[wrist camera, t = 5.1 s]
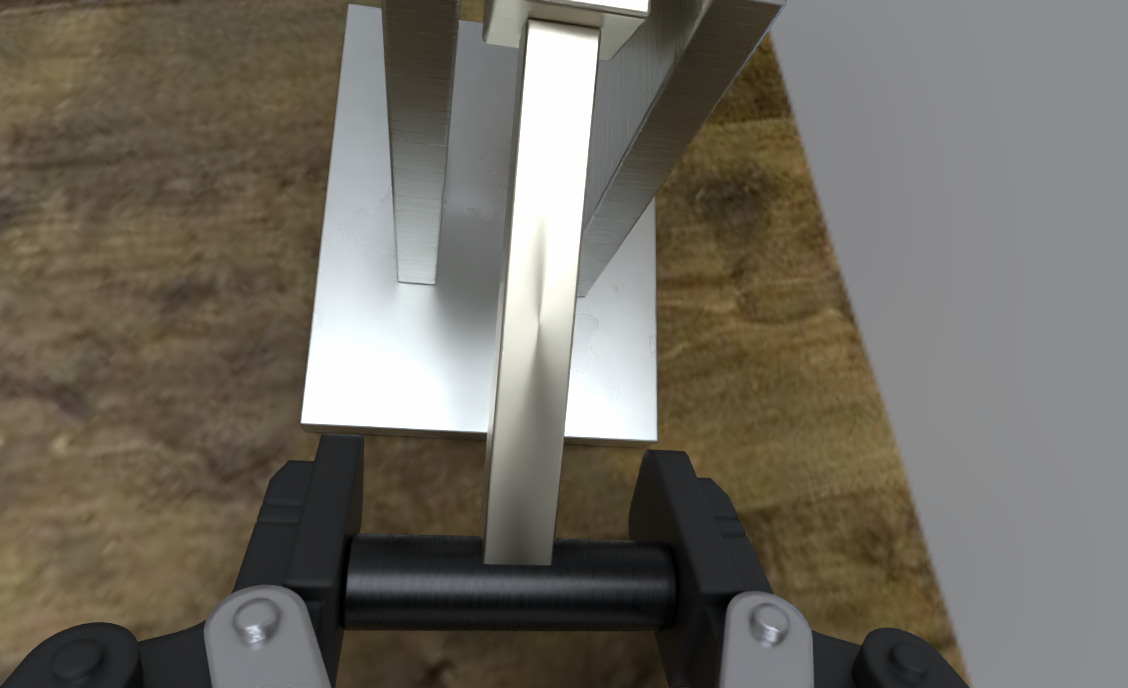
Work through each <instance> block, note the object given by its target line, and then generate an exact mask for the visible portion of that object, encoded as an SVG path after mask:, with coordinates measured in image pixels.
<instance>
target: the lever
mask: <svg viewBox="0 0 1128 688" xmlns="http://www.w3.org/2000/svg"><path fill="white" fill-rule="evenodd" d="M652 2H653V0H485V3H484V16H483V29H482V38H483V41H484V42H485V43H487V44H493V45H500V46H507V47H514V48H519V51H518V63H517V75H516V88H515V100H514V112H513V125H512V137H511V149H510V161H509V174H508V186H507V198H506V211H505V223H504V235H503V247H502V260H501V272H500V284H499V296H498V309H497V321H496V333H495V346H494V358H493V370H492V382H491V395H490V407H489V419H488V431H487V444H486V456H485V468H484V481H483V493H482V505H481V517H480V530H479V536H448V535H409V534H370V533H355V534H352V535H351V536H350V538H349V540H348V543H347V547H346V552H345V559H344V566H343V574H342V584H341V597H340V624H341V627H342V629H344V630H382V631H666V630H668V629H670V628H671V626H672V625H673V623H674V620H675V617H676V613H677V607H678V598H679V581H678V572H677V566H676V562H675V558H674V554H673V552H672V550H671V548H670V546H669V545H668V544H667V543H665V542H663V541H643V540H604V539H565V538H555V532H556V521H557V510H558V499H559V488H560V477H561V467H562V456H563V445H564V434H565V423H566V412H567V401H568V390H569V379H570V369H571V358H572V347H573V336H574V325H575V314H576V303H577V292H578V281H579V271H580V260H581V249H582V238H583V227H584V216H585V205H586V194H587V183H588V172H589V162H590V151H591V140H592V129H593V118H594V107H595V96H596V85H597V74H598V64H599V60H605V61H609V60H612V59H613V58H614V57H615V56H616V55H617V53H618V52H619V51H620V50H621V49H622V48H623V47H624V46H625V45H626V43H627V42H628V41H629V40H630V39H631V38H632V37H633V36H634V35H635V34H636V32H637V31H638V30H639V29H640V28H641V27H642V26H643V25H644V24H645V22H646V21H647V20H648V19H649V17H650V16H651V12H652Z"/></svg>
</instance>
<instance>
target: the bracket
mask: <svg viewBox="0 0 1128 688" xmlns="http://www.w3.org/2000/svg"><path fill="white" fill-rule="evenodd" d="M786 3H787V0H653V2H652V12H651V16H650V17H649V19H648V20H647V21H646V22H645V24H644V25H643V26H642V27H641V28H640V29H639V30H638V31H637V32H636V34H635V35H634V36H633V37H632V38H631V39H630V40H629V41H628V42H627V43H626V45H625V46H624V47H623V48H622V49H621V50H620V51H619V52H618V53H617V55H616V56H615V57H614V58H613V59H612V60H609V61H605V60H599V64H598V74H597V85H596V96H595V107H594V118H593V129H592V140H591V151H590V162H589V172H588V183H587V194H586V205H585V216H584V227H583V238H582V249H581V260H580V271H579V281H578V292H577V303H576V314H575V325H574V336H573V347H572V358H571V369H570V379H569V390H568V401H567V412H566V423H565V434H564V444H573V445H593V446H614V447H635V448H645V447H647V446H650V445H652V444H654V443H657V442H658V385H657V299H656V213H655V195H656V193H657V192H658V190H659V189H660V188H661V186H662V185H663V183H664V182H665V180H666V179H667V177H668V176H669V174H670V173H671V171H672V170H673V169H674V167H675V166H676V164H677V163H678V161H679V160H680V158H681V157H682V155H683V154H684V153H685V151H686V150H687V148H688V147H689V145H690V144H691V142H692V141H693V139H694V138H695V137H696V135H697V134H698V132H699V131H700V129H701V128H702V126H703V125H704V123H705V122H706V121H707V119H708V118H709V116H710V115H711V113H712V112H713V110H714V109H715V107H716V106H717V105H718V103H719V102H720V100H721V99H722V97H723V96H724V94H725V93H726V91H727V90H728V89H729V87H730V86H731V84H732V83H733V81H734V80H735V78H736V77H737V75H738V74H739V73H740V71H741V70H742V68H743V67H744V65H745V64H746V62H747V61H748V59H749V58H750V57H751V55H752V54H753V52H754V51H755V49H756V48H757V46H758V45H759V43H760V42H761V41H762V39H763V38H764V36H765V35H766V33H767V32H768V30H769V29H770V27H771V26H772V25H773V23H774V22H775V20H776V19H777V17H778V16H779V14H780V12H781V11H782V10H783V9H784V7H785V6H786ZM460 10H461V0H381V8H377V7H370V6H364V5H357V4H348V7H347V15H346V24H345V32H344V41H343V50H342V58H341V67H340V76H339V84H338V93H337V101H336V110H335V119H334V127H333V136H332V144H331V153H330V162H329V170H328V179H327V188H326V196H325V205H324V213H323V222H322V231H321V239H320V248H319V257H318V265H317V274H316V282H315V291H314V300H313V308H312V317H311V326H310V334H309V343H308V351H307V360H306V369H305V377H304V386H303V394H302V403H301V412H300V420H299V423H300V425H301V426H302V427H303V428H304V429H305V430H306V431H307V432H325V433H345V434H366V435H387V436H407V437H428V438H449V439H469V440H487V431H488V419H489V407H490V395H491V382H492V370H493V358H494V346H495V333H496V321H497V309H498V296H499V284H500V272H501V260H502V247H503V235H504V223H505V211H506V198H507V186H508V174H509V161H510V149H511V137H512V125H513V112H514V100H515V88H516V75H517V63H518V51H519V48H514V47H507V46H500V45H493V44H487V43H485V42H484V41H483V38H482V29H483V23H479V22H473V21H466V20H460Z"/></svg>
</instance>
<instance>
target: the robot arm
mask: <svg viewBox="0 0 1128 688" xmlns="http://www.w3.org/2000/svg"><path fill="white" fill-rule="evenodd" d="M363 468H364V436H363V435H344V434H322V436H321V439H320V442H319V446H318V450H317V454H316V457H315V461H294V460H289V461H288V462H287V463H286V464H285V465H284V466H283V467H282V468H281V469H280V470H279V471H278V472H277V473H276V474H275V475H274V476H273V477H272V478H271V479H270V482H269V485H268V488H267V491H266V494H265V497H264V500H263V505H261V508H260V511H259V514H258V517H257V523H255V526H254V529H253V532H252V535H251V538H250V541H249V544H248V547H247V550H246V553H245V556H244V559H243V562H242V565H241V568H240V571H239V574H238V577H237V580H236V583H235V586H234V589H233V591H232V593H231V595H229V596H227V597H226V598H224V599H223V600H222V601H221V602H219V603H218V604H217V605H216V606H215V607H214V608H213V610H212V611H211V613H210V614H209V616H208V618H207V619H206V620H205V621H203V622H201V623H199V624H197V625H195V626H193V627H190V628H188V629H186V630H182V631H179V632H176V633H172V634H168V635H164V636H160V637H156V638H152V639H148V640H144V641H140V642H137V640H136V638H135V636H134V635H133V634H132V633H131V632H130V631H129V630H127V629H126V628H124V627H122V626H120V625H116V624H112V623H104V622H98V623H87V624H81V625H78V626H74V627H71V628H68V629H66V630H63V631H61V632H59V633H57V634H55V635H53V636H51V637H49V638H48V639H46V640H45V641H43V642H42V643H40V644H39V645H38V646H37V647H35V648H34V649H33V650H32V651H31V652H30V653H29V654H28V655H27V656H26V657H25V659H24V660H23V661H22V662H21V663H20V664H19V666H18V667H17V668H16V669H15V670H14V671H13V673H12V674H11V675H10V676H9V677H8V678H7V680H6V681H5V682H4V683H3V684H2V685H1V687H0V688H335V684H336V678H337V672H338V666H339V660H340V653H341V647H342V641H343V635H344V629H342V627H341V624H340V597H341V584H342V574H343V566H344V559H345V552H346V547H347V543H348V540H349V538H350V536H351V535H352V534H355V533H360V528H361V518H362V504H363ZM629 539H630V540H643V541H663V542H665V543H667V544H668V545H669V546H670V548H671V550H672V552H673V554H674V558H675V562H676V566H677V572H678V581H679V598H678V607H677V613H676V617H675V620H674V623H673V625H672V626H671V628H670V629H668V630H666V631H654V633H655V636H656V640H657V644H658V648H659V651H660V655H661V659H662V662H663V666H664V670H665V674H666V677H667V681H668V685H669V687H690V688H969V687H968V686H967V684H966V683H965V682H964V681H963V680H962V679H961V677H960V676H959V675H958V674H957V673H956V672H955V671H954V669H953V668H952V667H951V666H950V665H949V664H948V663H947V661H946V660H945V659H944V658H943V657H942V656H941V655H940V654H939V653H938V652H937V650H936V649H934V648H933V647H932V646H931V645H930V644H928V643H927V642H925V641H924V640H922V639H921V638H919V637H917V636H915V635H913V634H911V633H909V632H906V631H903V630H900V629H895V628H879V629H876V630H873V631H872V632H870V633H869V634H868V635H867V636H866V638H865V640H864V642H863V644H862V646H861V645H858V644H854V643H851V642H847V641H844V640H840V639H837V638H833V637H830V636H826V635H823V634H820V633H817V632H815V631H813V630H811V629H810V626H809V624H808V622H807V620H806V619H805V617H804V616H803V615H802V614H801V613H800V612H799V610H798V609H797V608H795V607H794V606H793V605H792V604H790V603H789V602H787V601H786V600H784V599H782V598H780V597H778V596H776V595H774V594H773V592H772V590H771V587H770V585H769V583H768V581H767V579H766V576H765V574H764V572H763V570H762V568H761V566H760V563H759V561H758V559H757V557H756V555H755V553H754V550H753V548H752V546H751V544H750V542H749V540H748V537H745V531H744V529H743V526H742V524H741V522H740V520H738V516H737V513H736V511H735V509H734V507H733V505H732V503H731V500H730V498H729V496H728V495H727V494H726V493H725V492H724V491H723V490H722V489H721V488H720V487H719V486H718V485H717V484H716V483H715V482H714V481H713V480H712V479H711V478H697V476H696V474H695V471H694V469H693V466H692V464H691V462H690V459H689V457H688V455H687V453H686V452H684V451H670V450H649V449H648V450H646V451H645V453H644V455H643V458H642V462H641V466H640V470H639V474H638V478H637V483H636V487H635V491H634V495H633V499H632V503H631V507H630V512H629Z"/></svg>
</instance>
